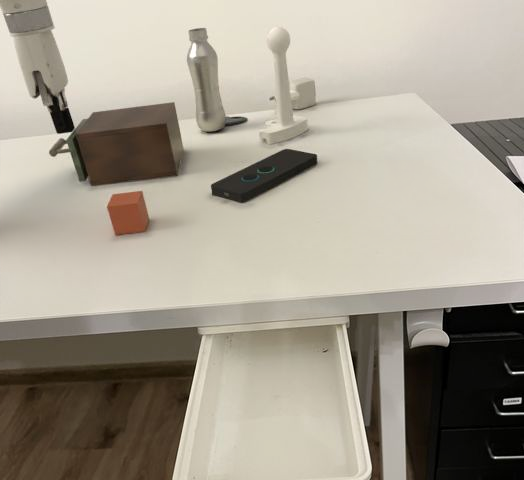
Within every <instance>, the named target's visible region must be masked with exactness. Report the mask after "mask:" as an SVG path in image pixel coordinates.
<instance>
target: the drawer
mask: <svg viewBox="0 0 524 480" xmlns="http://www.w3.org/2000/svg"><path fill="white" fill-rule="evenodd" d="M87 119H88V118H83V119H82V120H81V121H80V122H79V123H78V125H77V126H76V127H75V129H74V130H73V132H70V134H69V136H68V137H67V138H66V139H65V138H63V137H59V138H58V140H56V142H55V143H54V145H52V147H51V148H50V149H49V150H48V154H49V156H50V157H52V158H55V157H57V155H59V154H60V155H61V154H67V153H69V154H70V157H71V160H72V162H73V166H74V169H75V172H76V176H77V178H78V182H86V181H87V179H88V178H89V176H88V173H87V170H86V166H85V163H84V160H83V157H82V154H81V150H80V147H79V144H78V141H77V138H76V133H77V132H78V131H79V130H80V128H81V127H82V126H83V124H84V123H85V122H86V121H87ZM65 145H67V148H64V147H65Z"/></svg>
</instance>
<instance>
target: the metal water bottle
mask: <svg viewBox="0 0 524 480" xmlns="http://www.w3.org/2000/svg"><path fill="white" fill-rule="evenodd" d="M188 37H189V38H188V39H189V42H191V44H190V47H189V48H188V52H187V55H186V63H187V68H188V71H189V74H190V78H191V81H192V86H193V89H194V96H195V98H194V99H195V108H196V110H195V120H196V124H197V127H198V128H199V129H200V131H202V132H216V131H219V130H222V129H224V128H225V126H226V123H227V115H226V112H225V109H224V106H223V102H222V97H221V92H220V85H219V60H218V59H219V58H218V54H217V51H216V50H215V48H214V47H213V46H212V45H211V44H210V43H209V41H208V39H209V35H208V31H207V28H206V27H199V28H191V29H189V30H188Z"/></svg>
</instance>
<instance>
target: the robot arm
mask: <svg viewBox="0 0 524 480" xmlns="http://www.w3.org/2000/svg"><path fill="white" fill-rule="evenodd" d="M0 9H1V13H2V16H3V18H4V21H5V23H6V26H7V29H8V32H9V35H10V37H13V43H14V44H13V45H14V49H15V51H16V52H15V53H16V56H17V60H18V64H19V66H20V67H19V68H20V70H21V73H22V76H23V79H24V82H25V86H26V89H27V92H28V95H29V97H30V98H31V99H34V100H36V99H37V98H39V97H40V99H41V102H42V105H43V107H46V108H47V111H48V113H49V114H50V117H51V121H52V123H53V127H54V129H55V132H56V134H57V135H60V134H68V133H72V132H73V131H74V130H75V128H76V127H75V123H74V120H73V117H72V113H71V112H70V108H69V106H68V105H69V103H68V100H67V97H66V86H67V85H69V84H68V83H69V79H68V75H67V70H66V67H65V65H64V61H63V58H62V55H61V53H60V49H59V46H58V44H57V42H56V38H55V36H54V34H53V31H52V30H54V29H55V27H56V26H55V25H54V21H53V18H52V15H51V11H50V8H49V6H48V2H47V0H0Z"/></svg>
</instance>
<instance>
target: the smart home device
mask: <svg viewBox="0 0 524 480" xmlns="http://www.w3.org/2000/svg"><path fill="white" fill-rule="evenodd" d="M317 164H318V154H317V153H311V152H306V151H301V150H297V149H291V148H283V149H281V150H280V151H277V152H275V153H273V154H271V155H268V156H267V157H265V158H263V159H261V160H259V161H257V162H254V163H252V164H250V165H248V166H246V167H243V168H242V169H240V170H237V171H236V172H234V173H232V174H230V175H228V176H226V177H223V178H221V179H219V180H217V181H215V182H213V183H211V184H210V190H211V194H212V195H213V196H217V197H220V198H224V199H226V200H230V201H233V202H238V203H241V204H243V203H246V202H249V201H250V200H252V199H254V198H256V197H258V196H260V195H262V194H263V193H265V192H268V191H269V190H272V189H273V188H275V187H277V186H279V185H280V184H283V183H284V182H286V181H289V180H290V179H293V178H294V177H296V176H298V175H299V174H301V173H303V172H305V171H307V170H309V169H311V168H312V167H315V166H316V165H317Z"/></svg>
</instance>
